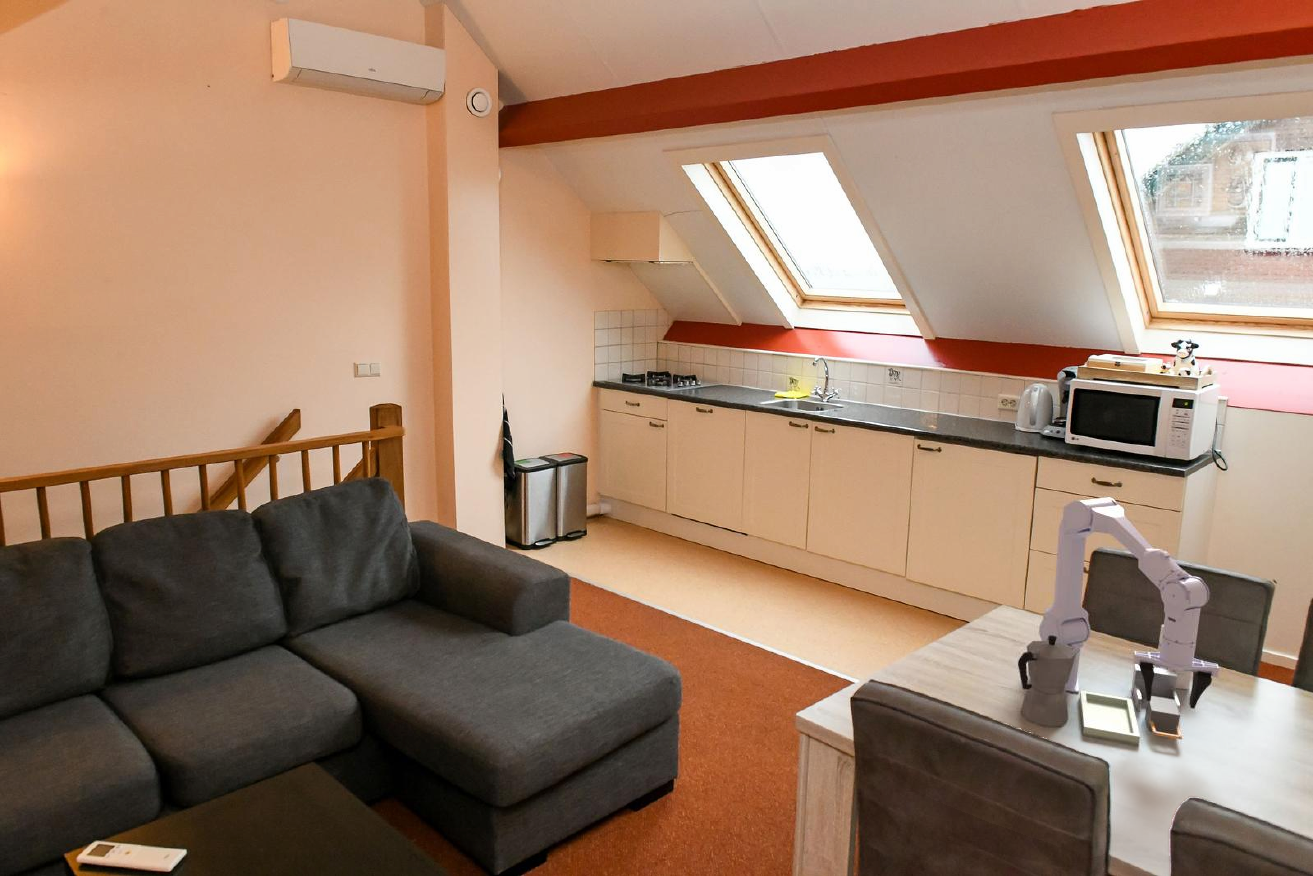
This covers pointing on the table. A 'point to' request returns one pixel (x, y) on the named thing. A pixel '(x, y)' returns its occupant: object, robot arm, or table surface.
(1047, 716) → the coffeepot
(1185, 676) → the ink box
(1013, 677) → the table surface
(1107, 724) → the green tray
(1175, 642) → the robot arm
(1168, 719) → the orange handle block
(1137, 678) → the steel bay
